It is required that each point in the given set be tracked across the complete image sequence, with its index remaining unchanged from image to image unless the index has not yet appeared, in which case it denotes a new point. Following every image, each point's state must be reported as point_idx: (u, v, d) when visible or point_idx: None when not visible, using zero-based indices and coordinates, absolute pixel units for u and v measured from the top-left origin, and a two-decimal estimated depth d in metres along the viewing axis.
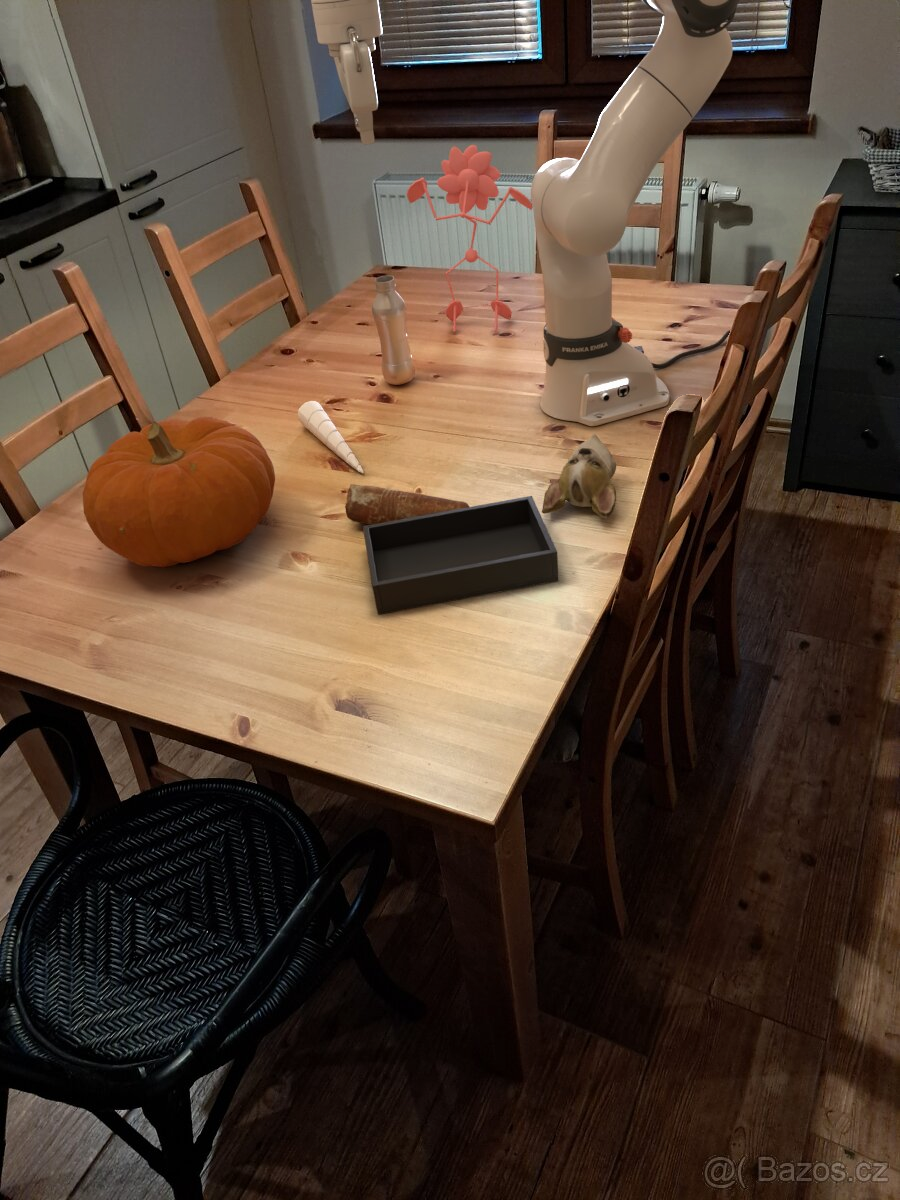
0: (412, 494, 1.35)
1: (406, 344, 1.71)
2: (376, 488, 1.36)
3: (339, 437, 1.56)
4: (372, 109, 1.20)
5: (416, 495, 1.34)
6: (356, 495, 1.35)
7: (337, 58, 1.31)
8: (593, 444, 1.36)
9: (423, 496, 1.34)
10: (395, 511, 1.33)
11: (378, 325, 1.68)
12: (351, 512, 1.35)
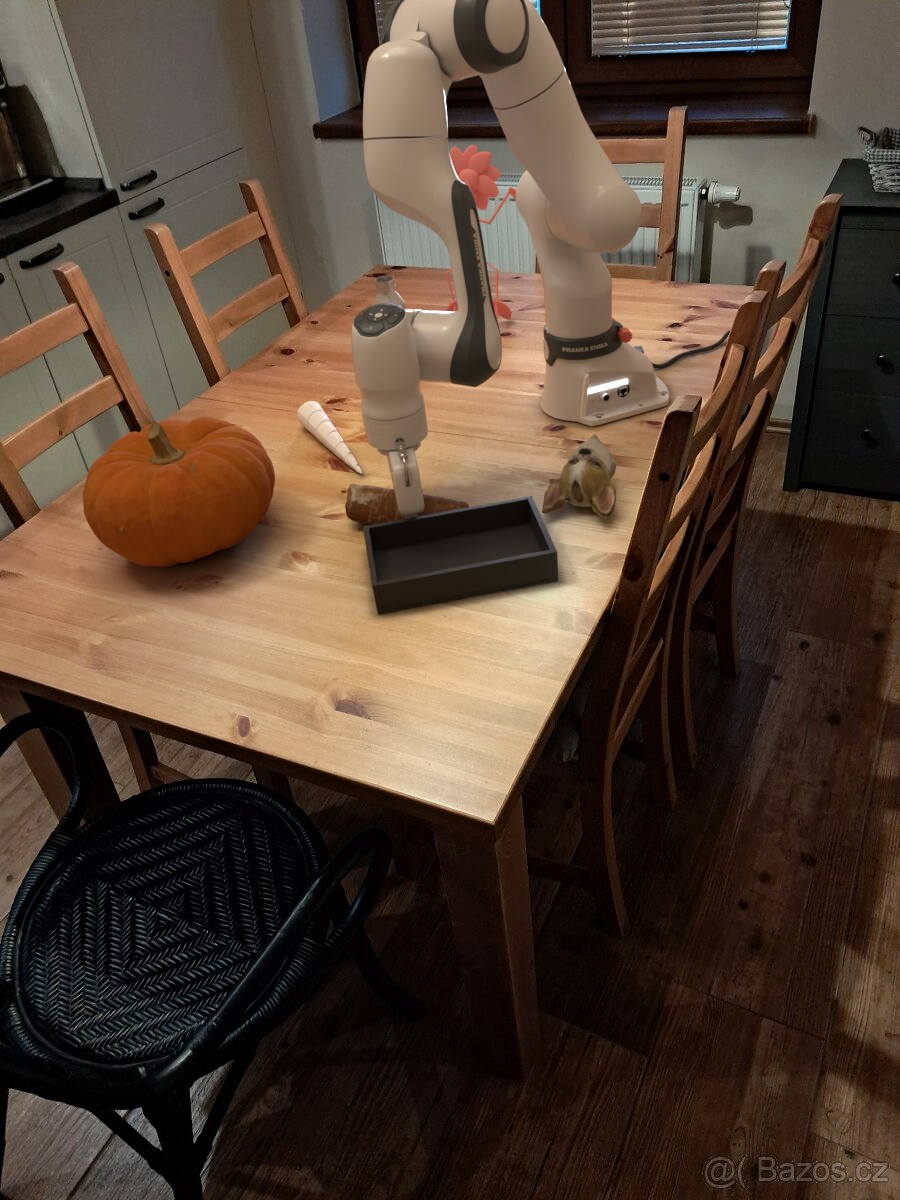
0: None
1: None
2: (376, 488, 1.36)
3: (338, 437, 1.55)
4: (419, 512, 1.26)
5: None
6: (356, 495, 1.35)
7: None
8: (593, 444, 1.36)
9: (423, 495, 1.34)
10: (395, 511, 1.34)
11: None
12: (350, 511, 1.35)
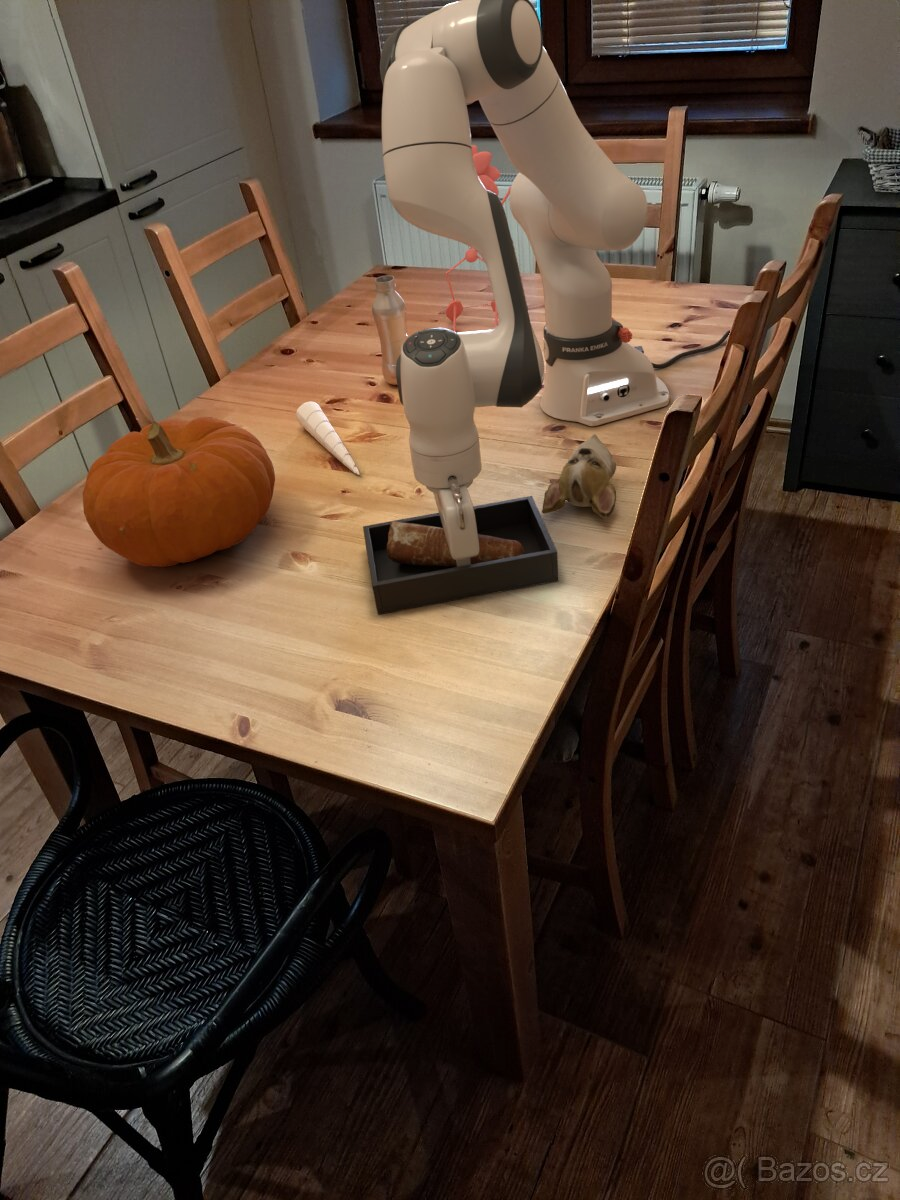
0: None
1: None
2: (420, 526, 1.25)
3: (336, 438, 1.55)
4: (473, 556, 1.14)
5: None
6: (399, 534, 1.24)
7: None
8: (593, 444, 1.36)
9: None
10: (442, 552, 1.23)
11: (378, 325, 1.68)
12: (393, 552, 1.24)
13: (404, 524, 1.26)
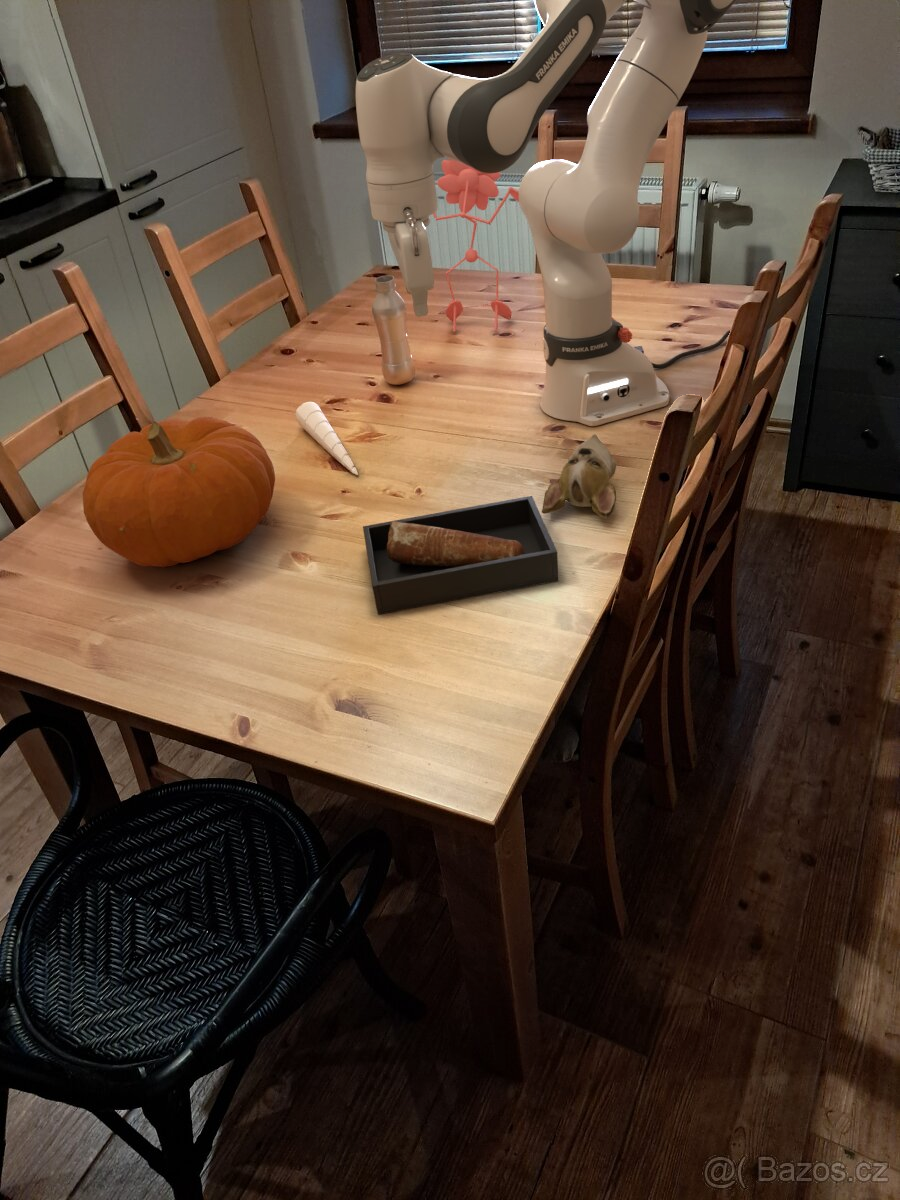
0: (460, 533, 1.24)
1: (406, 344, 1.71)
2: (420, 526, 1.25)
3: (335, 438, 1.55)
4: (428, 289, 1.17)
5: (464, 534, 1.24)
6: (399, 534, 1.24)
7: None
8: (593, 444, 1.36)
9: (472, 535, 1.23)
10: (442, 552, 1.23)
11: (378, 325, 1.68)
12: (393, 552, 1.24)
13: (404, 524, 1.26)
